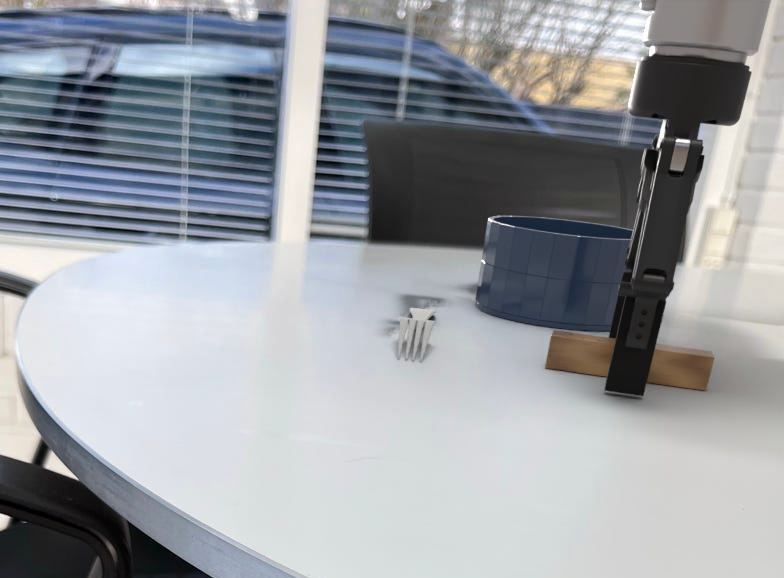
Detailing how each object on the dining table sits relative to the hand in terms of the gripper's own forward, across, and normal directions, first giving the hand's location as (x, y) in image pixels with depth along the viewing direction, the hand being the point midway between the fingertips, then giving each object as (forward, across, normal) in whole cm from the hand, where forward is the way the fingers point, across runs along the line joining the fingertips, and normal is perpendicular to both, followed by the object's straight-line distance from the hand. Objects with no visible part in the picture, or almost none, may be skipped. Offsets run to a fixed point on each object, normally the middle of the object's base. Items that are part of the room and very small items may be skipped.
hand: (622, 373), depth 81 cm
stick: (0, 0, 0) cm, 0 cm away
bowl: (0, -24, -6) cm, 25 cm away
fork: (0, -5, -17) cm, 18 cm away
